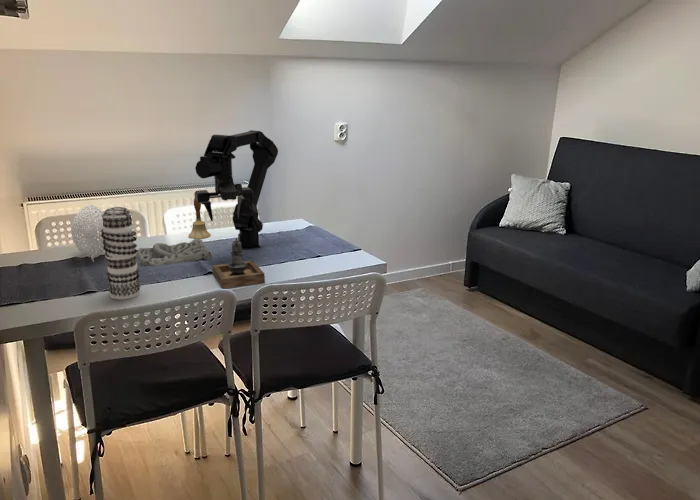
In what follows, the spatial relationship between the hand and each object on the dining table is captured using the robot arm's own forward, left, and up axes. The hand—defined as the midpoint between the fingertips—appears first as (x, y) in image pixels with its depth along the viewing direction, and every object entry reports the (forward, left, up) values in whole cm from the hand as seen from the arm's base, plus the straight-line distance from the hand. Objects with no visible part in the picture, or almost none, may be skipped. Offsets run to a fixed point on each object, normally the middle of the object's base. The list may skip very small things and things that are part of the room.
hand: (225, 219), depth 203 cm
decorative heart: (+42, -15, -13) cm, 47 cm away
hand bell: (+4, -28, -13) cm, 31 cm away
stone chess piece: (+2, +23, -12) cm, 26 cm away
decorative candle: (+35, +23, -13) cm, 44 cm away
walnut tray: (+2, +23, -13) cm, 26 cm away
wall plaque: (+17, -8, -14) cm, 23 cm away
